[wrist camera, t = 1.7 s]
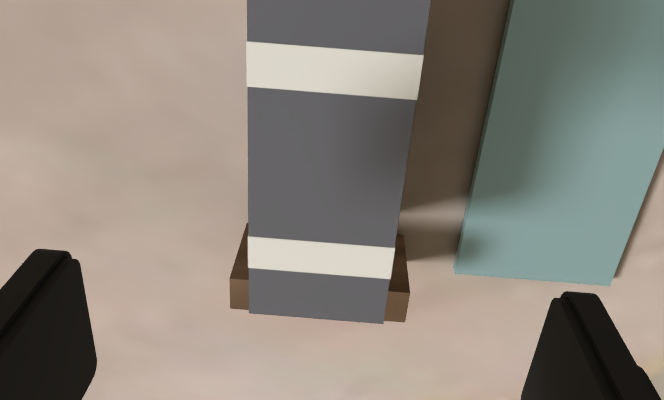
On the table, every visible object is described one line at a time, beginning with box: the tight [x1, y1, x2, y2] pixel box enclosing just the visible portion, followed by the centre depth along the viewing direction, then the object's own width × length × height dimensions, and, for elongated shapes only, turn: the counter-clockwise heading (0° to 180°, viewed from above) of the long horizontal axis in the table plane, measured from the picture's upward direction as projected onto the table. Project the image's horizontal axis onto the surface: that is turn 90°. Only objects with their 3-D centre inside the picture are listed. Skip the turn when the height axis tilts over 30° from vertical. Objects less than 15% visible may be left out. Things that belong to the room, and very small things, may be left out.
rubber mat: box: [454, 0, 664, 286], centre depth 23 cm, size 16×7×1 cm, turn 176°
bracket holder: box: [230, 223, 410, 322], centre depth 21 cm, size 16×7×4 cm, turn 176°
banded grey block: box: [246, 0, 431, 324], centre depth 20 cm, size 11×4×7 cm, turn 176°
